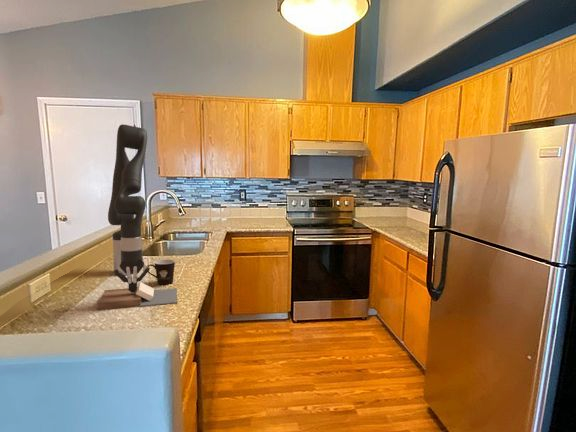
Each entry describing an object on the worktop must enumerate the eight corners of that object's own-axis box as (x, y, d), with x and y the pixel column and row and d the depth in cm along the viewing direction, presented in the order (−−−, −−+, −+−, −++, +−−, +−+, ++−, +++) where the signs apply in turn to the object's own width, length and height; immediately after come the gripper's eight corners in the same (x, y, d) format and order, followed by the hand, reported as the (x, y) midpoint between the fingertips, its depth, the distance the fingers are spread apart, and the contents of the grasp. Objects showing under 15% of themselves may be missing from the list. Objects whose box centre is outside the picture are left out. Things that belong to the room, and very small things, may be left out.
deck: (105, 296, 128) (105, 290, 128) (143, 292, 133) (143, 287, 133) (97, 310, 115) (97, 303, 115) (140, 305, 120) (140, 299, 120)
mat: (143, 292, 134) (143, 290, 134) (176, 289, 138) (176, 288, 138) (140, 306, 119) (140, 305, 119) (177, 303, 123) (177, 301, 123)
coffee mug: (179, 281, 149) (178, 260, 148) (167, 287, 141) (167, 265, 139) (157, 278, 152) (157, 257, 151) (145, 284, 144) (144, 262, 142)
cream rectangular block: (137, 286, 130) (140, 282, 130) (151, 293, 132) (154, 288, 132) (135, 294, 121) (138, 289, 121) (150, 301, 123) (153, 296, 124)
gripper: (151, 245, 129) (152, 287, 131) (114, 246, 124) (115, 290, 126) (149, 249, 122) (150, 293, 124) (110, 251, 117) (112, 296, 119)
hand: (132, 291), depth 125 cm, fingers closed
